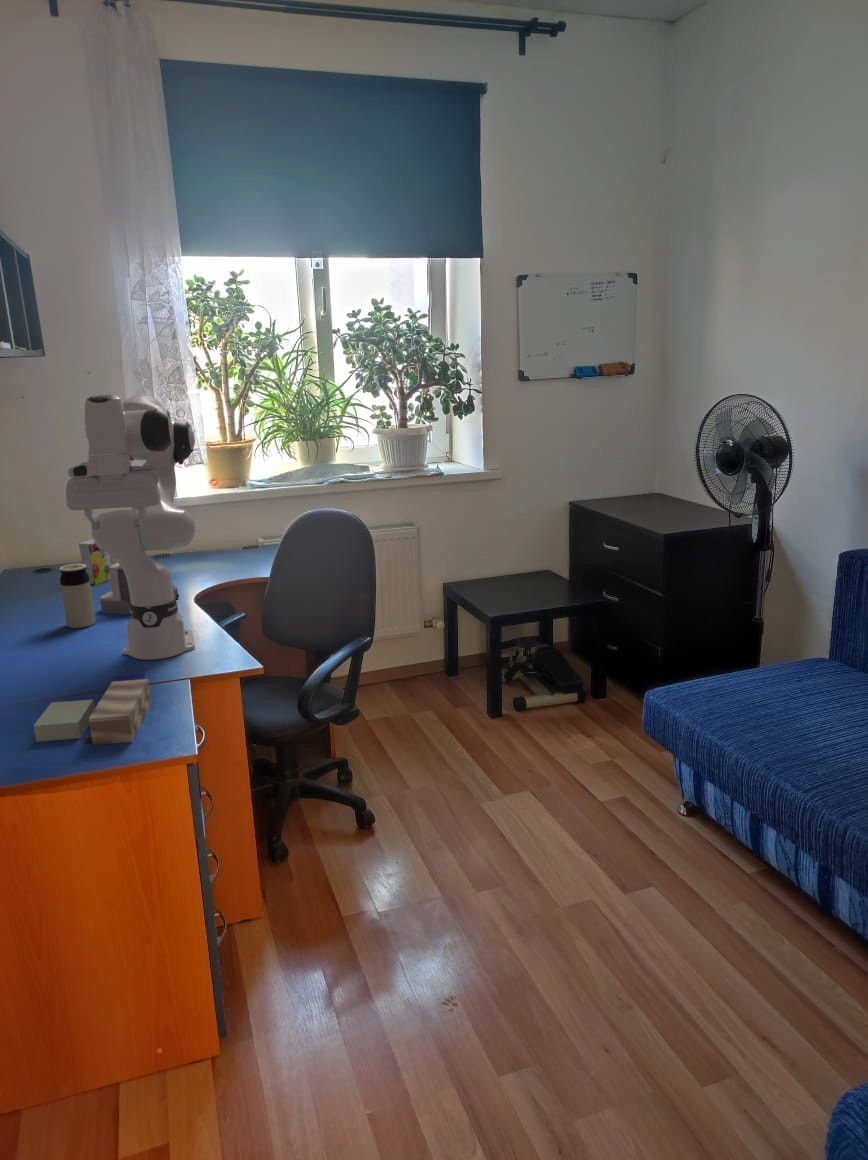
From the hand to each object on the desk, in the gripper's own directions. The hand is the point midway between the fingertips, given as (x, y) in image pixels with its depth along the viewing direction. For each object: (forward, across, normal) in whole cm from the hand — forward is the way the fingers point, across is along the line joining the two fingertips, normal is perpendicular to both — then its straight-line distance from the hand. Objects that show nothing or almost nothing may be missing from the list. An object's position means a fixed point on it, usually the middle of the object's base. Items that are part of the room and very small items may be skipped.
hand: (117, 527), depth 195 cm
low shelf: (+41, 0, +17) cm, 45 cm away
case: (+42, +11, +17) cm, 46 cm away
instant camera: (+32, +13, -76) cm, 83 cm away
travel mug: (+33, +27, -58) cm, 72 cm away
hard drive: (+40, +3, -4) cm, 40 cm away
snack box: (+27, +31, -113) cm, 121 cm away
